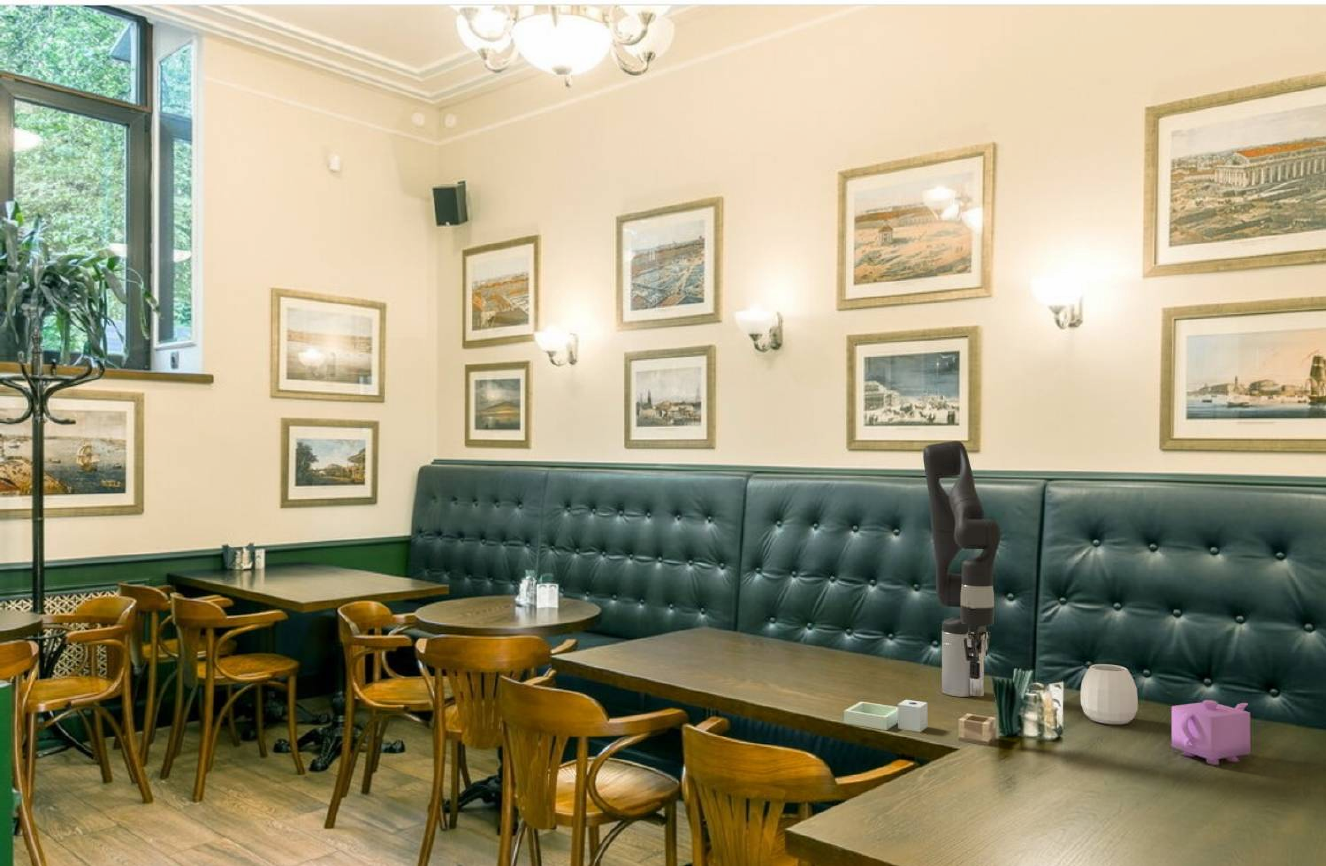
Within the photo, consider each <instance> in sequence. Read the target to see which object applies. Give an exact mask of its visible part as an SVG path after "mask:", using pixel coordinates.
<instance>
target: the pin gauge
mask: <svg viewBox="0 0 1326 866" xmlns="http://www.w3.org/2000/svg"><path fill="white" fill-rule="evenodd" d="M978 649H979V648H977V650H978ZM972 656H974V654H972ZM984 677H985V660H984V644H983V652H982V653H981V656H980V678H979V679H971V678H970V694H971V695H973V696H974V697H983V696H984V690H985V689H984V687H985V686H984V683H985V682H984V679H985V678H984ZM973 696H972V697H973Z"/></svg>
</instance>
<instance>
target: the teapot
mask: <svg viewBox="0 0 1326 866" xmlns="http://www.w3.org/2000/svg"><path fill="white" fill-rule="evenodd" d="M1248 705H1249V703H1247V702H1241V703H1237V705H1236V706H1235V707H1231V706H1228V705H1223V704H1221V703H1220V704H1219V703H1218V701H1216V700H1212V699H1205V700H1203V701H1202V702H1196V703H1187V704H1178V705H1172V706H1171V747H1172V748H1174V749H1177V750H1179V751H1183V753H1182V755H1183V756H1185V757H1190V758H1191V757H1193V758H1194V757H1196V756H1198V757H1201V758H1204V759H1206V761H1205V762H1206V764H1209V765H1213V766H1214V765H1215V766H1219V765H1220V761H1219V760H1222V759H1226V761H1229V762H1234V763H1235V762H1236V763H1239V762H1240V760H1239V758H1238V757H1240V756H1247V755H1251V712H1249V711H1246V710H1245V708H1246V707H1247V706H1248Z"/></svg>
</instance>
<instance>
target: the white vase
mask: <svg viewBox="0 0 1326 866" xmlns="http://www.w3.org/2000/svg"><path fill="white" fill-rule="evenodd" d="M1138 699H1139V698H1138V689H1137V686H1136V682H1135V680H1134V678H1133V676H1132V674H1131V673H1130V671H1129V670H1128V668H1126V667H1125V666H1121V665H1115V664H1105V663H1098V664H1092V665H1090V666H1089V667H1088V668H1087V671H1086V672H1085V674H1084V676H1083V678H1082V680H1081V685H1080V705H1081V708H1082V710H1083V713H1084V715H1086V717H1088V719H1090V720H1092V721H1093V722H1098V723H1102V724H1105V725H1106V724H1107V725H1125V724H1128V723H1129V722H1131V721H1132V720H1133V719H1134V718H1135V716H1136V714H1137V711H1138V708H1139V707H1138V706H1139V705H1138V704H1139V702H1138Z"/></svg>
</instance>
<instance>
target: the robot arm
mask: <svg viewBox="0 0 1326 866" xmlns="http://www.w3.org/2000/svg"><path fill="white" fill-rule="evenodd" d="M922 455H923V456H922V457H923V458H922V459H923V460H922V461H923V467H924V474H925V478H926V485H927V491H928V498H929V510H930V513H929V514H930V524H931V534H932V542H933V550H934V558H935V559H934V560H935V583H936V584H935V586H936V587H935V589H936V598H937V601H938V604H940V605H941V606H943V607H948V608H960V614H958V615H956V616H953V617H950V618H946V619H943V621H942V622H941V693H943V694H944V695H948V696H953V697H960V698H961V697H963V698H964V697H965V698H966V697H967V698H968V697H973V695H971V694H970V678H971V679H979V678H980V656H981V653H982V652H983V644H984V661H985V660H986V659H987V657H988V655H989V644H990V637H991V632H990V631H987V627H990V626H993V625H994V623H995V592H994V578H993V577H994V565H995V560H996V555H997V553H998V550H999V546H1000V542H1001V538H1002V531H1001V528H1000V525H999V524H998V522H997V521H996V520H993V519H984V517H985V510H984V507H983V505H982V502H981V500H980V498H979V496H978V493H977V490H976V486H975V485H976V484H975V480H974V476H973V471H972V466H971V463H970V458H969V454H968V452H967V449H966V446H965V445H964V443H962V442H961V441H959V440H952V441H951V440H950V441H944V442H938V443H932V444H928V445H926V446H925V447H924V448H923V454H922ZM957 476H958V477H957ZM951 477H957V479H956V481H955V483H954V485H953V486H952V487H951V490H950V492H949V494H948V493H947V492H946V491H945V489H944V487H943V486H942V484H941V483H940V479H945V478H951ZM962 549H963V550H964V549H965V550H982V551H981V553H980V554H979V555H978V556H976V557H974V558H969V559H965V560H963V562H962V563H961V574H960V573H959V574H958V573H950V572H949V569H950V567H951V565H952V563H953V561H954V560H955V558H956V557H957V555H959V553H960V552H961V550H962ZM977 648H979V649H978V650H977ZM972 654H974V656H972Z"/></svg>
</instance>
